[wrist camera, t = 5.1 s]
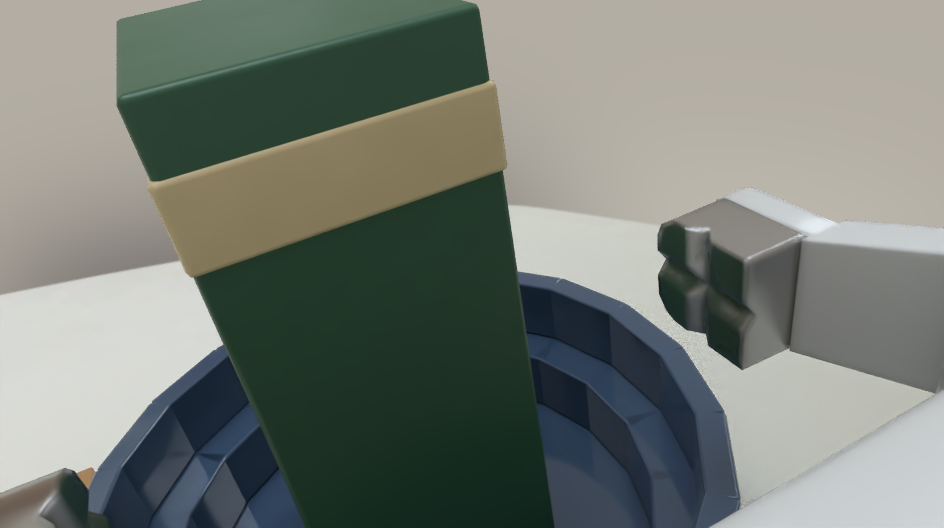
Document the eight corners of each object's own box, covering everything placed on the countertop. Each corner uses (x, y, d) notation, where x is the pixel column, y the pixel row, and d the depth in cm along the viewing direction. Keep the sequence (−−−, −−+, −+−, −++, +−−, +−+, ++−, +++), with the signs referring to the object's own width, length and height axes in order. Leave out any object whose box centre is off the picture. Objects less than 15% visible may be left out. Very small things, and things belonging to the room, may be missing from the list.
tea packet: (452, 427, 19) (342, -33, 13) (571, 609, 14) (487, 1, 8) (311, 493, 18) (111, 20, 11) (386, 717, 13) (106, 101, 6)
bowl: (533, 321, 23) (519, 220, 21) (882, 664, 13) (923, 528, 11) (136, 491, 19) (72, 388, 17) (160, 1188, 9) (2, 1138, 7)
